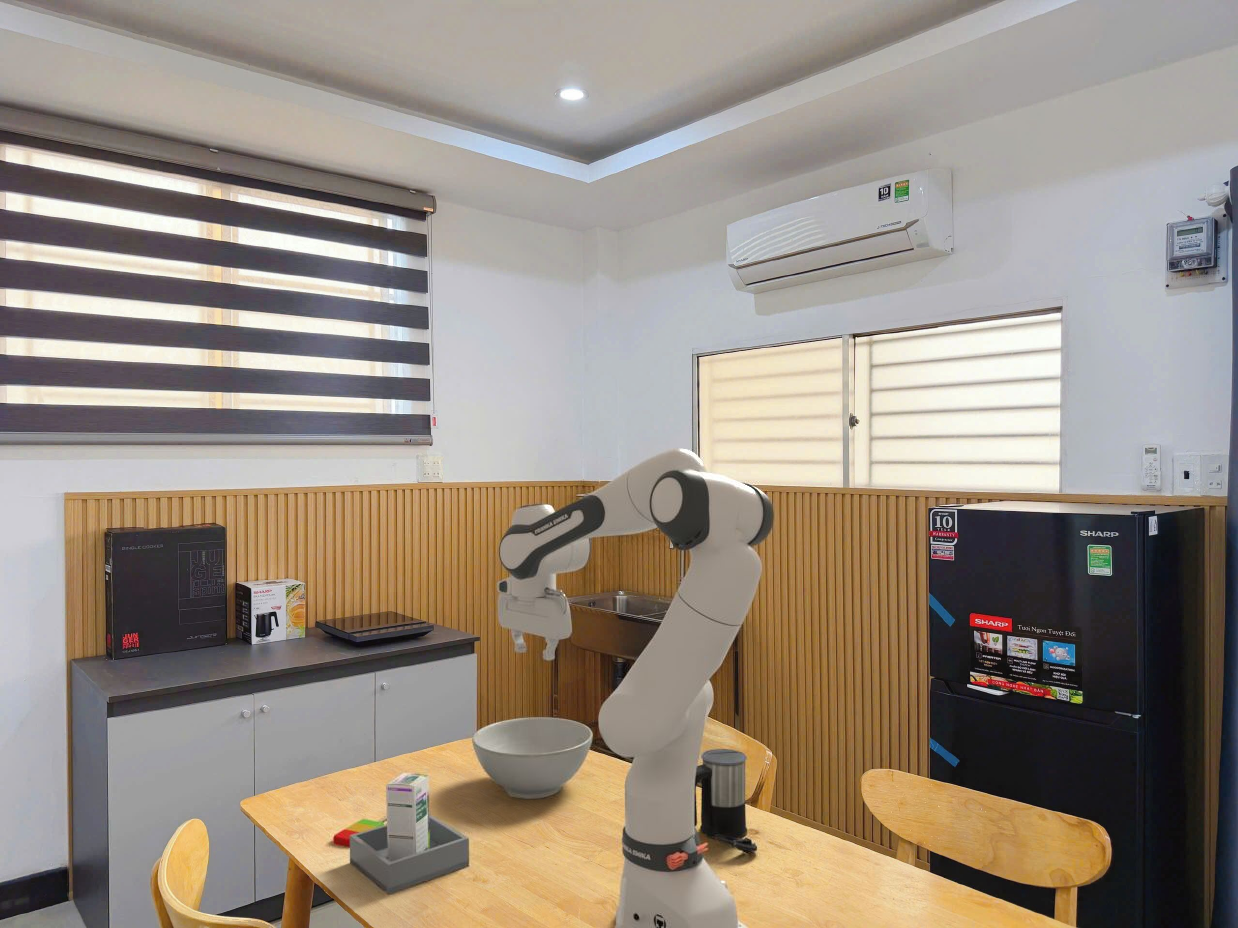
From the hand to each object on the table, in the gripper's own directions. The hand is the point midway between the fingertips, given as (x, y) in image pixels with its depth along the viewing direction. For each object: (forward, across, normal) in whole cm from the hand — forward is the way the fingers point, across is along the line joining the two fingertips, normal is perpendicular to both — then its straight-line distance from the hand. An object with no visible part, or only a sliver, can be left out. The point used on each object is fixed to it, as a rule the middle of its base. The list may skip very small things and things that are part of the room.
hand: (534, 655), depth 170 cm
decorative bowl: (+35, +19, -13) cm, 42 cm away
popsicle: (+35, +23, +24) cm, 49 cm away
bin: (+35, +4, +25) cm, 43 cm away
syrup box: (+34, +4, +25) cm, 43 cm away
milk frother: (+35, -28, -25) cm, 52 cm away
